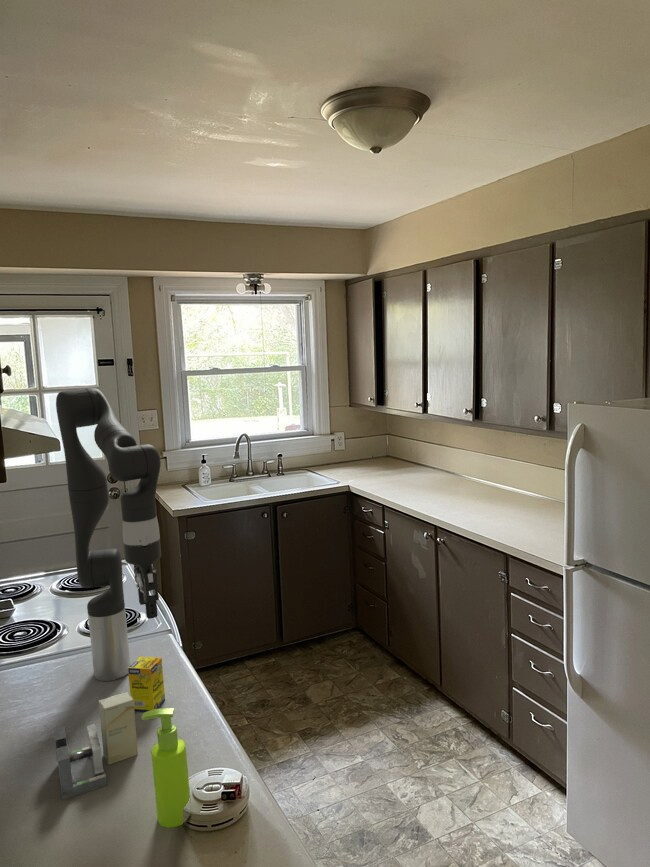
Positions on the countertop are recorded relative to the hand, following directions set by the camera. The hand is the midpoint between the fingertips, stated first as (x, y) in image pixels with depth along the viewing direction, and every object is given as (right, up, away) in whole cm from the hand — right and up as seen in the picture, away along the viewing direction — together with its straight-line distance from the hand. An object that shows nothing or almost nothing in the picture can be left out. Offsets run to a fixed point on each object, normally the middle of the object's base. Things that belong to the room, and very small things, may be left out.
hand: (148, 610), depth 139 cm
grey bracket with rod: (-10, -29, -12) cm, 33 cm away
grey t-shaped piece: (-10, -28, -12) cm, 32 cm away
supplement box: (-3, -26, +13) cm, 29 cm away
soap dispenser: (+11, -30, -25) cm, 40 cm away
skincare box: (-4, -29, -6) cm, 29 cm away
